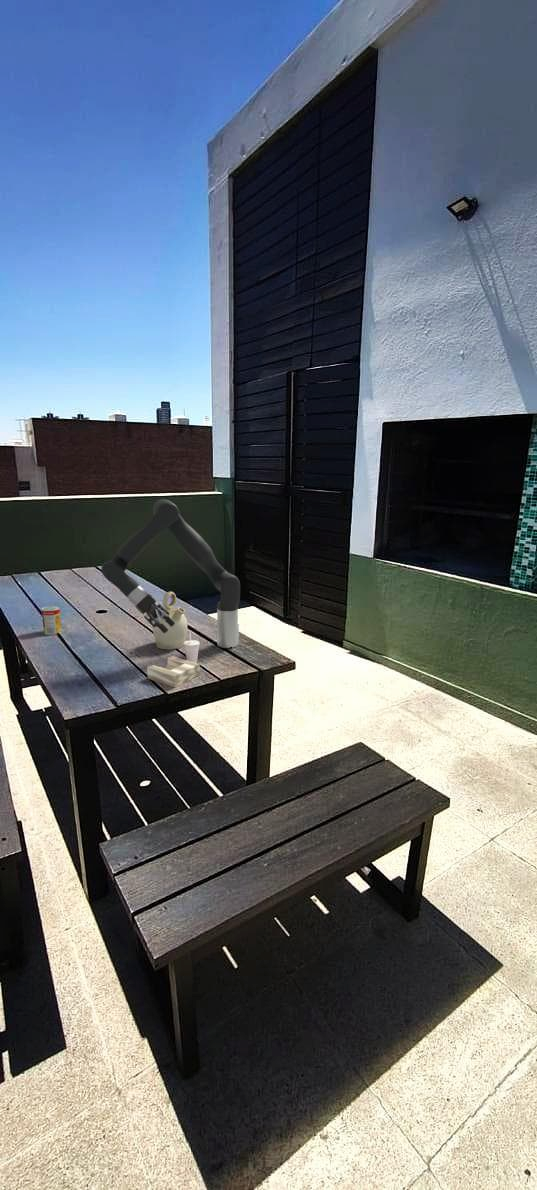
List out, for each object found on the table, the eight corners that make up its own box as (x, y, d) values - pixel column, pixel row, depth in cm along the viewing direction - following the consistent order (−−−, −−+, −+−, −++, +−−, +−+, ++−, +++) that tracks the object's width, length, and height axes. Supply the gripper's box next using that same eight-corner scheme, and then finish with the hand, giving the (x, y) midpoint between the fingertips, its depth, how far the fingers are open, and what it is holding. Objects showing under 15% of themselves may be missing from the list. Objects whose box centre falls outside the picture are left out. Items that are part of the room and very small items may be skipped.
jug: (194, 645, 222) (193, 591, 215) (166, 653, 211) (164, 598, 204) (174, 636, 232) (173, 585, 225) (146, 644, 221) (144, 591, 214)
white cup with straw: (184, 661, 202) (184, 629, 199) (200, 661, 203) (200, 629, 200) (183, 667, 196) (182, 635, 193) (199, 667, 197) (199, 634, 193)
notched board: (172, 666, 197) (172, 656, 196) (199, 674, 190) (199, 664, 189) (147, 678, 186) (147, 667, 185) (175, 687, 179) (175, 676, 178)
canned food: (62, 629, 238) (60, 605, 235) (61, 634, 231) (59, 610, 228) (44, 630, 236) (42, 606, 233) (43, 635, 229) (40, 611, 226)
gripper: (141, 598, 187) (170, 628, 189) (153, 589, 201) (181, 617, 203) (128, 610, 189) (158, 640, 191) (142, 601, 203) (169, 628, 205)
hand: (170, 628), depth 197 cm, fingers open, 8 cm apart
